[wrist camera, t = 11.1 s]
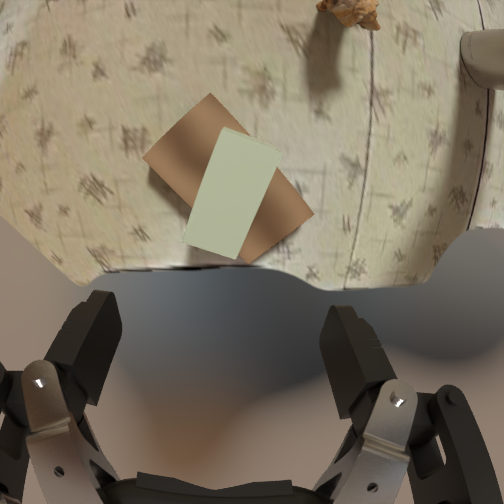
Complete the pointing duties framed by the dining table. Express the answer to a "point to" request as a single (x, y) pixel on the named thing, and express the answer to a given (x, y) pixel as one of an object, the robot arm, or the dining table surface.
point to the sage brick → (231, 192)
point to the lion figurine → (353, 12)
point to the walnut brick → (195, 164)
